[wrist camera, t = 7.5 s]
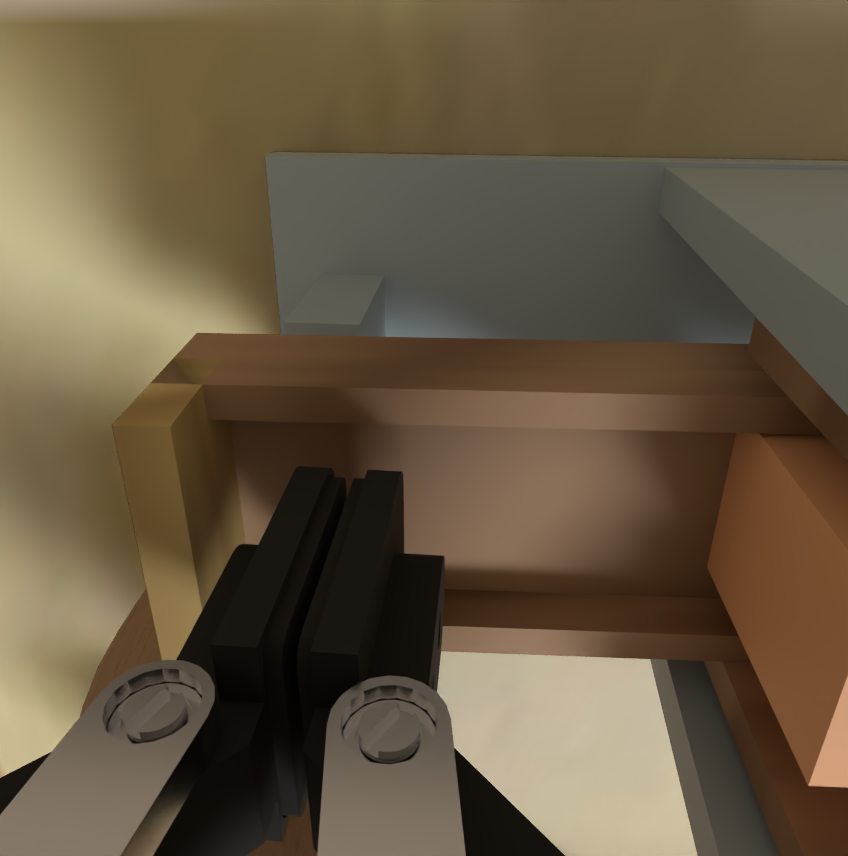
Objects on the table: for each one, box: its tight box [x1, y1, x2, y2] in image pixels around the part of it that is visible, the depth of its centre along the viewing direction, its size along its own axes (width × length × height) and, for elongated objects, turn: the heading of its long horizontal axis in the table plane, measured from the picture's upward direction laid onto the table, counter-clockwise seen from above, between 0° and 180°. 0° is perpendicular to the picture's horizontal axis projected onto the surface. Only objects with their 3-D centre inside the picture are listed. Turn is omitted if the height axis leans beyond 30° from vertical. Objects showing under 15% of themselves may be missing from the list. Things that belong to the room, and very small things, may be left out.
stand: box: [265, 152, 848, 856], centre depth 14 cm, size 23×11×12 cm, turn 90°
